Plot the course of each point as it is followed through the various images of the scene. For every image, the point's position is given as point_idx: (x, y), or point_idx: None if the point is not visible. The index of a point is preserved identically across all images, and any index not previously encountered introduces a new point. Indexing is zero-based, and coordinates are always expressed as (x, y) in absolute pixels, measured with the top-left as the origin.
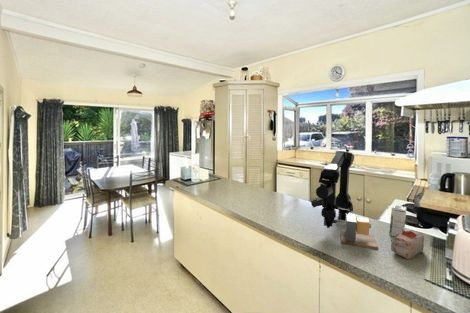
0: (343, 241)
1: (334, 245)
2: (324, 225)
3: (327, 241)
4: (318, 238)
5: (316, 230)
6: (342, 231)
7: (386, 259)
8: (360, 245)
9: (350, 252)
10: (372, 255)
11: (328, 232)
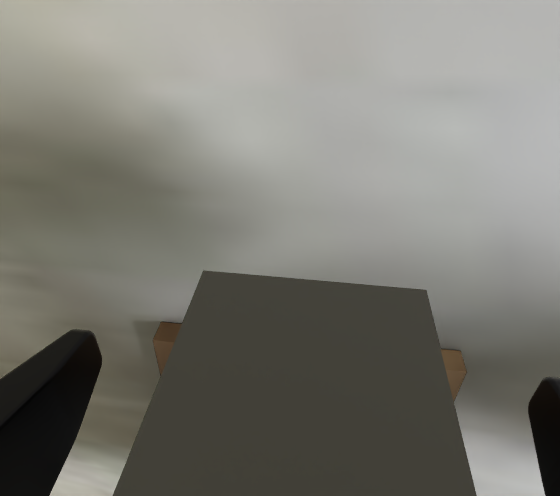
0: (165, 357)
1: (73, 258)
2: (201, 286)
3: (134, 191)
4: (168, 59)
5: (538, 9)
6: (451, 385)
7: (80, 491)
8: None
9: (25, 359)
10: (82, 455)
11: (456, 222)
